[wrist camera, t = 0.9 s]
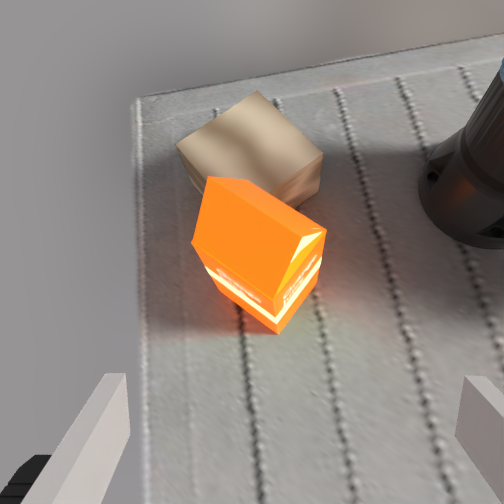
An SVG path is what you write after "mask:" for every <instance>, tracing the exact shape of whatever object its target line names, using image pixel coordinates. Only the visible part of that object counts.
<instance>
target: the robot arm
mask: <svg viewBox="0 0 504 504" xmlns="http://www.w3.org/2000/svg"><path fill="white" fill-rule="evenodd" d="M419 195H420V200H421V203H422V205H423V207H424V209H425V211H426V213H427V215H428V216H429V217H430V219H431V220H432V221H433V222H434V223H435V224H436V225H437V226H438V227H439V228H440V229H441V230H442V231H443V232H445V233H446V234H448V235H449V236H451V237H453V238H454V239H456V240H458V241H460V242H463V243H465V244H468V245H471V246H475V247H480V248H487V249H502V248H504V58H503V60H502V65H501V67H500V70H499V71H498V73H497V75H496V76H495V78H494V80H493V81H492V83H491V85H490V86H489V88H488V90H487V91H486V93H485V95H484V96H483V98H482V100H481V101H480V103H479V105H478V106H477V108H476V109H475V111H474V113H473V114H472V116H471V117H470V119H469V121H468V122H467V124H466V126H464V127H463V128H462V129H460V130H459V131H458V132H456V133H455V134H453V135H452V136H451V137H449V138H448V139H447V140H445V141H444V142H442V143H441V144H440V145H439V146H438V147H437V148H436V149H435V150H434V151H433V152H432V154H431V155H430V156H429V158H428V160H427V162H426V164H425V165H424V167H423V169H422V172H421V174H420V178H419ZM129 436H130V423H129V411H128V400H127V388H126V377H125V373H105V375H104V376H103V378H102V379H101V381H100V382H99V384H98V385H97V387H96V388H95V390H94V392H93V393H92V395H91V396H90V398H89V399H88V401H87V402H86V404H85V405H84V407H83V408H82V410H81V412H80V413H79V415H78V416H77V418H76V419H75V421H74V423H73V424H72V425H71V427H70V429H69V430H68V432H67V433H66V435H65V436H64V438H63V439H62V441H61V442H60V444H59V445H58V447H57V449H56V450H55V452H54V453H53V455H34V456H33V457H32V458H31V459H29V460H28V461H27V462H26V463H24V464H23V465H22V466H21V467H19V469H18V470H17V471H16V473H15V474H14V476H13V477H12V478H11V480H10V481H9V482H8V485H7V486H6V487H5V488H4V489H3V491H2V492H1V493H0V504H101V502H102V499H103V497H104V494H105V492H106V490H107V487H108V485H109V483H110V481H111V478H112V476H113V473H114V471H115V469H116V466H117V464H118V462H119V459H120V457H121V455H122V452H123V450H124V448H125V445H126V443H127V440H128V438H129ZM455 437H456V439H457V440H458V441H459V443H460V444H461V446H462V447H463V449H464V450H465V451H466V453H467V454H468V456H469V457H470V459H471V460H472V461H473V463H474V464H475V466H476V467H477V469H478V470H479V471H480V473H481V474H482V476H483V477H484V479H485V480H486V481H487V483H488V484H489V486H490V487H491V489H492V490H493V491H494V493H495V494H496V496H497V497H498V498H499V500H500V501H501V503H502V504H504V395H503V394H502V393H501V392H500V391H499V390H498V389H497V388H496V387H495V386H494V385H493V384H492V383H491V382H490V381H489V380H488V379H487V378H486V377H485V376H464V382H463V389H462V395H461V401H460V407H459V413H458V419H457V425H456V431H455Z"/></svg>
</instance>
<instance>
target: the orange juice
mask: <svg viewBox="0 0 504 504" xmlns="http://www.w3.org/2000/svg"><path fill="white" fill-rule="evenodd" d="M207 177H208V179H207V183H206V187H205V191H204V196H203V200H202V204H201V208H200V212H199V216H198V221H197V225H196V229H195V233H194V237H193V240H192V242H191V243H192V245H193V246H194V248H195V250H196V252H197V253H198V255H199V257H200V258H201V260H202V262H203V263H204V265H205V268H206V269H207V271H208V273H209V274H210V275H211V277H212V279H213V280H214V282H215V284H216V285H217V287H218V289H219V290H220V291H221V292H222V293H223V294H225V295H226V296H227V297H229V298H230V299H231V300H233V301H234V302H235V303H237V304H238V305H239V306H241V307H242V308H243V309H245V310H246V311H247V312H249V313H250V314H251V315H253V316H254V317H255V318H257V319H258V320H259V321H261V322H262V323H263V324H265V325H266V326H267V327H269V328H270V329H271V330H273V331H274V332H275V333H277V334H279V333H280V332H281V330H282V329H283V328H284V326H285V325H286V324H287V322H288V321H289V320H290V318H291V317H292V315H293V314H294V313H295V311H296V310H297V309H298V307H299V306H300V305H301V303H302V302H303V301H304V299H305V298H306V297H307V295H308V294H309V293H310V291H311V290H312V288H313V287H314V286H315V284H316V282H317V277H318V272H319V267H320V265H321V260H322V252H323V247H324V241H325V236H326V229H324V228H323V227H321V226H320V225H318V224H316V223H315V222H313V221H312V220H310V219H308V218H307V217H305V216H304V215H302V214H300V213H299V212H297V211H296V210H294V209H292V208H291V207H289V206H288V205H286V204H284V203H283V202H281V201H280V200H278V199H276V198H275V197H273V196H272V195H270V194H268V193H267V192H265V191H264V190H262V189H260V188H259V187H257V186H256V185H254V184H252V183H251V182H249V181H248V180H241V179H230V178H220V177H209V176H207Z"/></svg>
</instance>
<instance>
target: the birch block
mask: <svg viewBox="0 0 504 504" xmlns="http://www.w3.org/2000/svg"><path fill="white" fill-rule="evenodd" d="M175 145H176V148H177V150H178V152H179V155H180V157H181V159H182V162H183V164H184V166H185V168H186V171H187V173H188V175H189V178H190V180H191V182H192V183H193V184H194V186H195V187H196V188H197V189H198V190H199V192H200V193H201V194H202V195H203V196H204V191H205V187H206V183H207V179H208V177H207V176H209V177H220V178H230V179H241V180H248V181H249V182H251V183H252V184H254V185H256V186H257V187H259V188H260V189H262V190H264V191H265V192H267V193H268V194H270V195H272V196H273V197H275V198H276V199H278V200H280V201H281V202H283V203H284V204H286V205H288V206H289V207H291V208H292V209H295V208H296V207H297V206H299V205H300V204H302V203H303V202H304V201H306V200H307V199H308V198H310V197H311V196H313V195H314V194H315V193H317V192H318V191H319V185H320V177H321V169H322V161H323V152H322V151H321V150H319V149H318V148H317V147H316V146H315V145H314V144H313V143H312V142H311V141H310V140H309V139H308V138H307V137H306V136H305V135H304V134H303V133H302V132H301V131H300V130H298V129H297V128H296V127H295V126H294V125H293V124H292V123H291V122H290V121H289V120H288V119H287V118H286V117H285V116H284V115H283V114H282V113H281V112H280V111H278V110H277V109H276V108H275V107H274V106H273V105H272V104H271V103H270V102H269V101H268V100H267V99H266V98H265V97H264V96H263V95H262V94H261V93H260V92H259V91H256V92H254V93H253V94H251V95H250V96H248V97H247V98H245V99H243V100H242V101H240V102H239V103H237V104H236V105H234V106H233V107H231V108H230V109H228V110H227V111H225V112H224V113H222V114H221V115H219V116H218V117H216V118H215V119H213V120H212V121H210V122H208V123H207V124H205V125H204V126H202V127H201V128H199V129H198V130H196V131H195V132H193V133H192V134H190V135H189V136H187V137H186V138H184V139H183V140H181V141H180V142H178V143H177V144H175Z"/></svg>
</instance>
